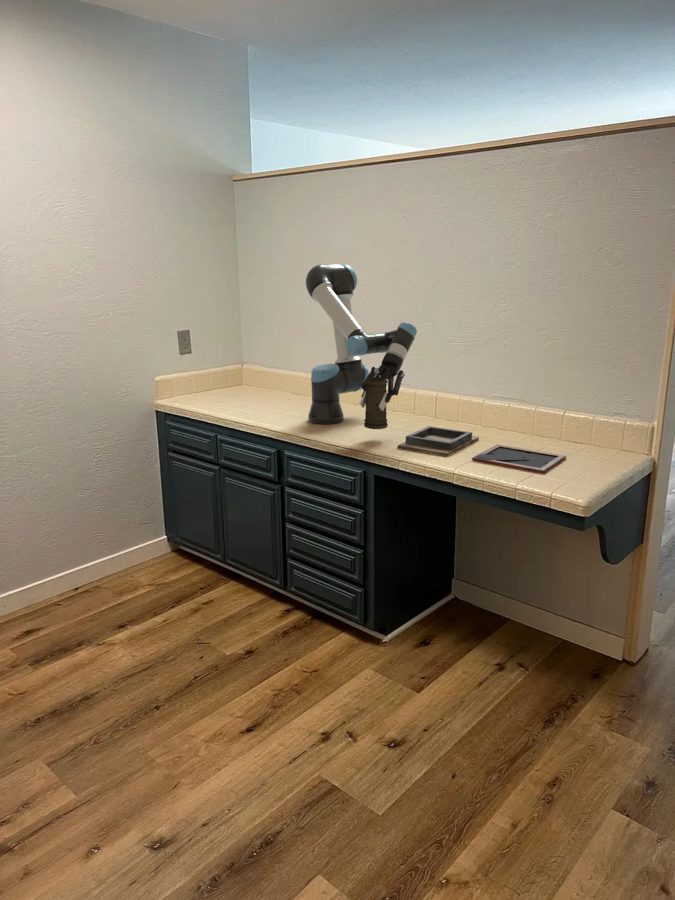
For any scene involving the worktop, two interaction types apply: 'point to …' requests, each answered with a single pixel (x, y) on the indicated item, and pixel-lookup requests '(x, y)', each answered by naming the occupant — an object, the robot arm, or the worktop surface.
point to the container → (375, 403)
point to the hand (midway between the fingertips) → (371, 407)
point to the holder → (438, 440)
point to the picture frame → (519, 458)
